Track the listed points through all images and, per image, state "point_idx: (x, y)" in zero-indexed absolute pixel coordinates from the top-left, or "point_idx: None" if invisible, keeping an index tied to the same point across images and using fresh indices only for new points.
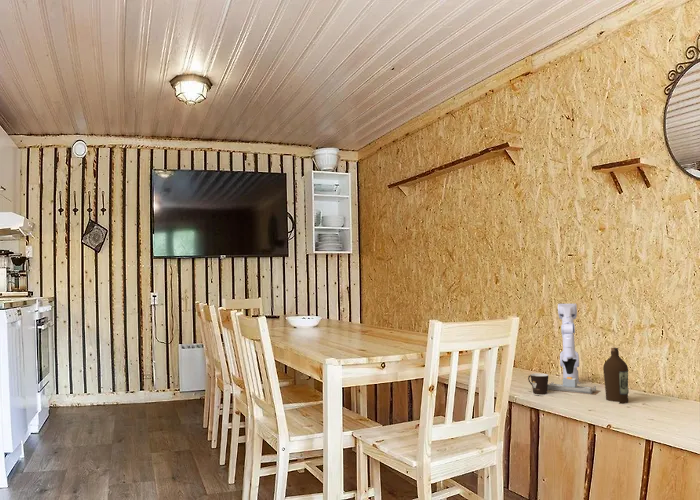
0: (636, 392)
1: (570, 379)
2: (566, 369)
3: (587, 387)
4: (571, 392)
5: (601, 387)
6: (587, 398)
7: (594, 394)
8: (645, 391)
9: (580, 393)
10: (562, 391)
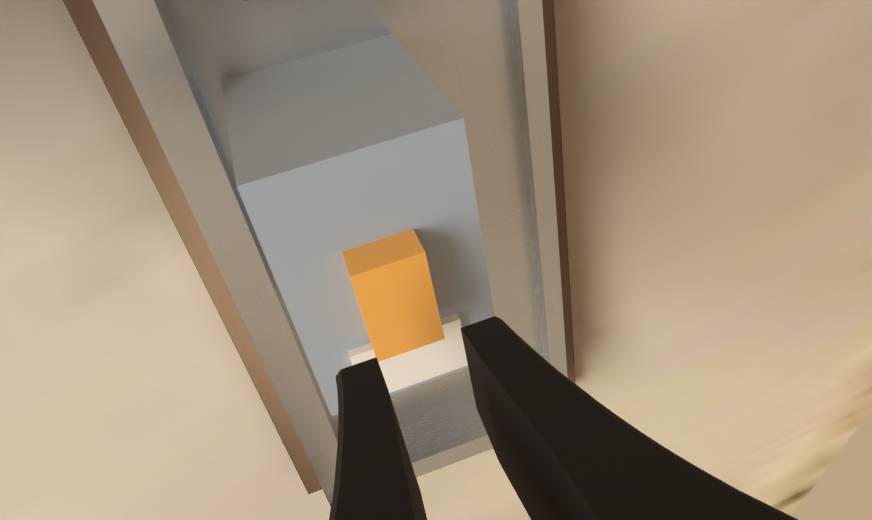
0: None
1: (307, 347)
2: (340, 492)
3: (543, 323)
4: (192, 258)
5: (866, 224)
6: (118, 500)
7: None
8: (789, 504)
9: (245, 365)
10: (130, 104)
